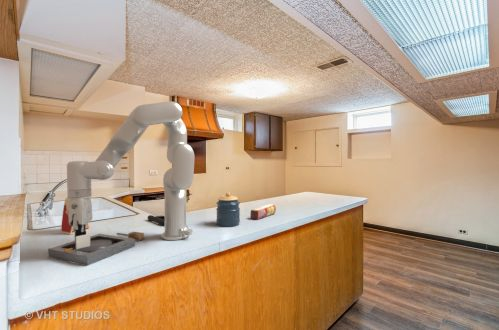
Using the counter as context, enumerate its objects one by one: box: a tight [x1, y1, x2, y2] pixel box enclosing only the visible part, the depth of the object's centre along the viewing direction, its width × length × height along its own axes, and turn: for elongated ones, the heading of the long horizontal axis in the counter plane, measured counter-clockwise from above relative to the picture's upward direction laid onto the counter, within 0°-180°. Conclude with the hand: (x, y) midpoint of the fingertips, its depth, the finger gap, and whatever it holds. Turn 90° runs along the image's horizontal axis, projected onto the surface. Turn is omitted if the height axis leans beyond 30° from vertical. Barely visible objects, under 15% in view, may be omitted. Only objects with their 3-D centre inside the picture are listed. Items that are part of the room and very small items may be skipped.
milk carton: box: [60, 197, 91, 236], centre depth 122 cm, size 9×9×20 cm
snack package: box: [249, 203, 277, 221], centre depth 156 cm, size 21×7×7 cm, turn 144°
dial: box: [75, 233, 112, 253], centre depth 95 cm, size 12×12×6 cm
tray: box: [47, 233, 136, 266], centre depth 95 cm, size 20×20×4 cm
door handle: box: [147, 214, 165, 227], centre depth 143 cm, size 3×20×16 cm
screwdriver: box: [116, 231, 145, 242], centre depth 111 cm, size 14×3×3 cm, turn 70°
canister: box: [215, 191, 241, 228], centre depth 137 cm, size 13×13×18 cm
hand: (80, 242), depth 94 cm, fingers closed
